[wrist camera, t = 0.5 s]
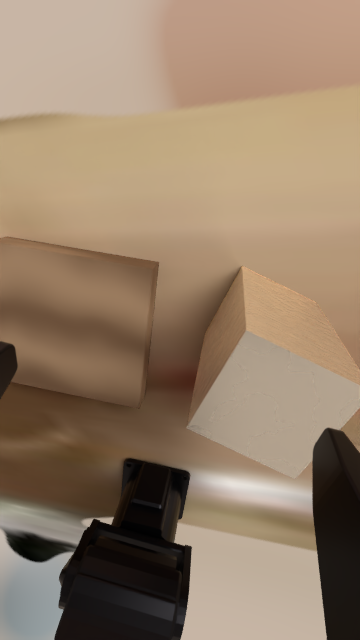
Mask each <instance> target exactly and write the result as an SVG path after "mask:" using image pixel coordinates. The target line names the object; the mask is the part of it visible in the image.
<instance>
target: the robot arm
mask: <svg viewBox="0 0 360 640" xmlns="http://www.w3.org/2000/svg"><path fill="white" fill-rule="evenodd" d="M17 368H18V363H17V356H16V349H15V346H14V345H13V344H11V343H7V342H3V341H0V399H1V397H2V395H3V394H4V392H5V390H6V388H7V387H8V385H9V383H10V382H11V380H12V378H13V377H14V375H15V373H16V371H17ZM185 476H186V477H185ZM189 480H190V473H189V472H187V471H184V470H179V469H175V468H170V467H166V466H161V465H157V464H152V463H148V462H143V461H139V460H134V459H129V458H128V459H126V460H125V463H124V469H123V482H122V494H121V499H120V502H119V505H118V508H117V511H116V513H115V516H114V519H113V522H112V524H111V525H110V524H106V523H103V522H100V520H97V519H93V521H92V523H91V525H90V527H88V528H87V530H85V531H84V533H83V535H82V538H81V540H80V542H79V544H78V547H77V549H76V550H75V552H74V554H73V555H72V556H71V558H70V559H69V561H68V562H67V564H66V565H65V566H64V568H63V569H62V571H61V573H60V576H59V580H60V583H61V586H62V587H61V592H60V593H61V594H60V600H59V608H60V609H63V610H64V611H63V613H62V616H61V619H60V622H59V625H58V628H57V631H56V634H55V640H180V639H181V635H182V631H183V626H184V621H185V615H186V610H187V602H188V595H189V581H190V566H191V549H192V547H191V546H188V545H185V546H183V545H180V544H176V543H174V540H175V534H176V528H177V523H178V520H179V519H181V518H182V515H183V510H184V505H185V500H186V495H187V490H188V485H189ZM313 517H314V526H315V535H316V545H317V554H318V563H319V572H320V579H321V580H320V581H321V589H322V599H323V608H324V617H325V626H326V634H327V640H360V453H359V451H358V450H357V449H356V447H355V446H354V445H353V444H352V442H351V441H350V440H349V438H348V437H347V436H346V434H345V433H344V432H343V431H341V430H337V429H333V428H329V427H328V428H326V429H325V430H324V431H323V432H322V434H321V435H320V437H319V439H318V440H317V442H316V443H315V445H314V448H313Z"/></svg>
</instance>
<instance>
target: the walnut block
mask: <svg viewBox="0 0 360 640" xmlns="http://www.w3.org/2000/svg"><path fill="white" fill-rule="evenodd" d="M158 266H159V262H154V261H148V260H142V259H136V258H131V257H125V256H119V255H113V254H107V253H101V252H95V251H89V250H83V249H77V248H71V247H65V246H59V245H53V244H47V243H41V242H35V241H29V240H23V239H17V238H11V237H4V238H0V341H3V342H7V343H11V344H13V345H14V346H15V349H16V356H17V363H18V368H17V371H16V373H15V375H14V377H13V378H12V380H11V382H14V383H18V384H23V385H28V386H33V387H38V388H42V389H47V390H52V391H57V392H62V393H66V394H71V395H76V396H81V397H85V398H90V399H95V400H100V401H105V402H109V403H114V404H119V405H124V406H128V407H133V408H138V409H139V408H140V405H141V403H142V401H143V398H144V396H145V391H146V381H147V371H148V362H149V352H150V343H151V333H152V324H153V314H154V304H155V295H156V285H157V276H158Z"/></svg>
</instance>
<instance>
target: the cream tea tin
mask: <svg viewBox="0 0 360 640" xmlns="http://www.w3.org/2000/svg"><path fill="white" fill-rule="evenodd" d="M359 408H360V370H359V368H358V367H357V365H356V363H355V362H354V360H353V359H352V357H351V356H350V354H349V352H348V351H347V349H346V348H345V346H344V345H343V343H342V341H341V340H340V338H339V337H338V335H337V334H336V332H335V330H334V329H333V327H332V326H331V324H330V323H329V321H328V319H327V318H326V316H325V315H324V313H323V312H322V310H321V308H320V307H319V305H318V304H317V302H315V301H313V300H311V299H309V298H307V297H305V296H303V295H301V294H299V293H297V292H295V291H292V290H290V289H288V288H286V287H284V286H282V285H280V284H278V283H276V282H274V281H272V280H270V279H268V278H266V277H264V276H262V275H260V274H258V273H256V272H254V271H252V270H250V269H248V268H246V267H244V266H242V267H241V269H240V271H239V272H238V274H237V276H236V278H235V280H234V281H233V283H232V285H231V287H230V289H229V290H228V292H227V294H226V296H225V298H224V300H223V301H222V303H221V305H220V307H219V309H218V310H217V312H216V314H215V316H214V318H213V319H212V321H211V323H210V325H209V327H208V328H207V330H206V332H205V336H204V341H203V346H202V351H201V356H200V361H199V366H198V371H197V376H196V381H195V386H194V391H193V396H192V401H191V406H190V411H189V416H188V421H187V426H186V428H187V429H189V430H191V431H193V432H195V433H198V434H200V435H202V436H204V437H206V438H208V439H210V440H212V441H215V442H217V443H219V444H221V445H223V446H225V447H227V448H229V449H232V450H234V451H236V452H238V453H240V454H242V455H244V456H246V457H249V458H251V459H253V460H255V461H257V462H259V463H261V464H263V465H266V466H268V467H270V468H272V469H274V470H276V471H278V472H280V473H283V474H285V475H287V476H289V477H291V478H293V479H296V478H297V477H298V475H299V474H300V473H301V472H302V471H303V470H304V469H305V468H306V467H307V465H308V464H309V463H310V462H311V461H312V460H313V448H314V445H315V443H316V442H317V440H318V439H319V437H320V435H321V434H322V432H323V431H324V430H325V429H326V428H328V427H329V428H333V429H337V430H340V429H341V428H342V427H343V426H344V424H345V423H346V422H347V421H348V420H349V419H350V418H351V417H352V416H353V414H354V413H355V412H356V411H357V410H358V409H359Z"/></svg>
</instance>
